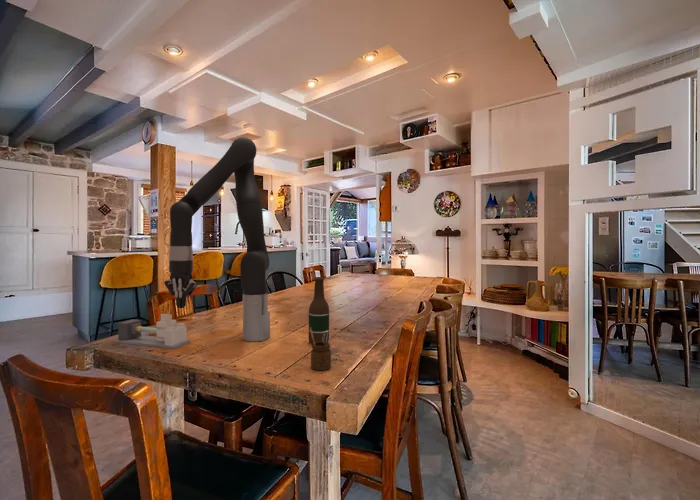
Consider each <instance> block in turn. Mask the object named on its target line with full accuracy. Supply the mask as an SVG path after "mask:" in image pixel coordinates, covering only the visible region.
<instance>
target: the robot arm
mask: <svg viewBox="0 0 700 500" xmlns="http://www.w3.org/2000/svg"><path fill="white" fill-rule="evenodd" d="M256 155H257V146H256V144H255V142H254V141H253V140H252V139H251V138H248V137H246V136H245V137H238V138H236V139H235V140H233V142H232V143H231V145H230V146H229V148H228V149H227V150H226V152H225V154H224V155H223V156H222V157H220V159H219V160H218V161H217V163H215V165H214V166H213V167H211V168H210V169H209V170H208V171H207V173H205V174H204V175H203V176H202V177H201V178H200V179H199V180H198V181H196V183H194V184H193V185H192V186H191V188H190V189H189V190H188V191H187V193H186V194H185V195H184V196H183V197H181V198H180V199H179V200H178V201H177V202H174V203H173V204H172V205H171V207H170V209H169V219H170V220H169V221H170V233H169V250H168V251H169V253H168V254H169V255H168V257H169V258H168V261H169V262H168V272H169V273H170V275H169V278H168V279H167V280H164V282H163V284H164V285H165V287H166V289H167V290H168V292H169V294H170V295H171V296H174V298H175V303H176V304H175V306H176V308H177V309H183V308H185V307H186V306H187V305H186V304H187V303H186V302H187V301H186V299H187V297H188V296H192V293H193V292H194V291H195V289H197V287H198V285H199V283H198V281H194V280H193V276H192V273H193V271H194V266H193V265H194V263H193V260H194V252H193V232H192V229H193V216H194V215H196V214H197V212H198V211H199V210H200V209H201V208H202V206H204V205H205V204H207V202H208V201H210V200H211V198H213V197H214V195H216V193H217V192H218V191H219V190H220V189H222V187H223V186H224V184H225V183H226V182H227V180H228V179H229V178H230V177H231V176H232V175H234V181H235V206H236V213H237V219H238V221H239V225H240V228H241V230H242V233H243V235H244V239H245V242H246V243H245V244H246V253H245V254H244V255H243V256H241V259H240V263H239V265H240V268H239V269H240V271H239V273H240V275H239V276H240V287H241V289H242V340H243V341H246V342H263V341H266V340H267V339H269V338H270V337H271V313H270V312H269V309H268V307H269V304H268V303H269V301H268V300H269V299H268V298H269V288H268V285H267V281H266V279H267V278H266V272H267V270H268V269H269V267H270V258H269V253H268V248H267V244H266V240H265V229H264V215H263V204H262V199H261V195H260V191H259V189H258V185H257V182H256V178H255V177H256V176H255V158H256Z"/></svg>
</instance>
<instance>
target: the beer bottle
mask: <svg viewBox="0 0 700 500" xmlns="http://www.w3.org/2000/svg"><path fill="white" fill-rule="evenodd" d="M313 281H314V290H313V291H314V292H313V298H312V299H313V300H312V301H311V303H310V304H309V308H308V343H309V344H310V345H313V343H314V342H320V341H323V342H328V343H329V341H330V305H329V304H328V302H327V300H326V298H325V297H326V296H325V287H324V281H325V278H324V277H323V276H316V277H314V280H313ZM310 327H311V330H312V333H313V338H314V342H313V339H312V335H311V331H310ZM326 330H328V331H327V332H328V333H327V332H325V331H326ZM323 334H325V335H323ZM327 335H328V336H327ZM326 337H327V338H326ZM326 340H327V341H326ZM328 340H329V341H328Z"/></svg>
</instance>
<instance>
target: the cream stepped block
mask: <svg viewBox="0 0 700 500" xmlns="http://www.w3.org/2000/svg"><path fill="white" fill-rule="evenodd" d="M172 316H173V314H169V313H160V320H159V321H156V324H155V325H156V327H155V328H157V333H156V337H157V340H161V341H165V330H166V326H175V327H176V323H177V319H172V318H173V317H172Z"/></svg>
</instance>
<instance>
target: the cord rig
mask: <svg viewBox="0 0 700 500" xmlns="http://www.w3.org/2000/svg"><path fill="white" fill-rule="evenodd" d="M117 324H118V325H117V326H118V328H117V331H118V335H117V336H118V339H115V340H114V343H116V344H123V345H134V346H144V347H153V348H162V349H172V350H175V349H177V348H179V347H181V346H185V345H186V344H190V343H191V339H187V326H186V323H185V322H176V327H175V326H166V330H165V341H161V340H157V336H153V335H152V336H150V335H142V332H143V333H152V334H157V328H156V327H151V326H142V320H141V319H128V320H124V321H121V322H117Z"/></svg>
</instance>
